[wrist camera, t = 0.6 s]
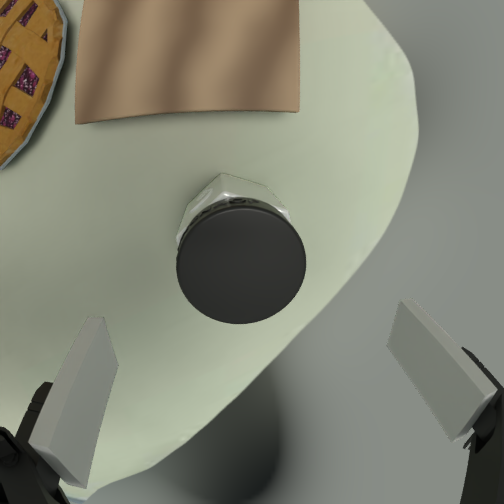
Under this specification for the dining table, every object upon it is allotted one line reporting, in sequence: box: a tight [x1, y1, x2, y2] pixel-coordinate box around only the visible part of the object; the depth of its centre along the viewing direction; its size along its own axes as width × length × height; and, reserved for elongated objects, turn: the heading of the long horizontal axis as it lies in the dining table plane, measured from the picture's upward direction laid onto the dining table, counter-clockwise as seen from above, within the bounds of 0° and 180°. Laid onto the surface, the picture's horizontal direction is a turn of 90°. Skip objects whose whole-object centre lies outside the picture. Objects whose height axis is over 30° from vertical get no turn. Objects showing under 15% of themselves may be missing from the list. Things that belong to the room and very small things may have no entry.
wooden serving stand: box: [75, 0, 300, 124], centre depth 20 cm, size 18×18×5 cm
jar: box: [176, 173, 306, 324], centre depth 24 cm, size 9×8×12 cm
